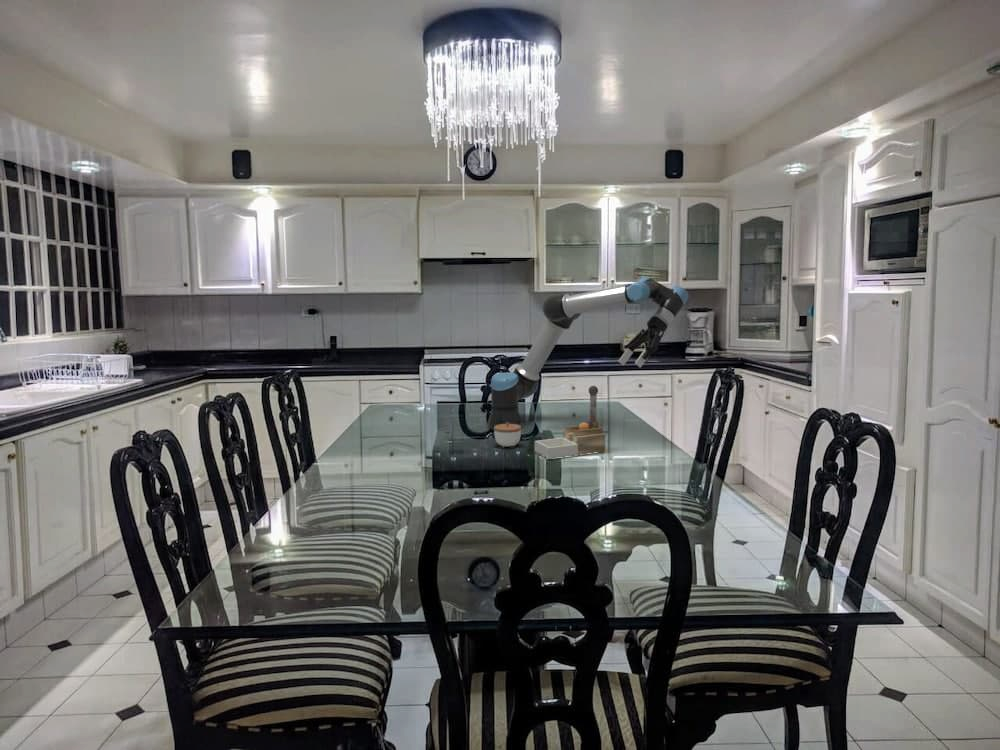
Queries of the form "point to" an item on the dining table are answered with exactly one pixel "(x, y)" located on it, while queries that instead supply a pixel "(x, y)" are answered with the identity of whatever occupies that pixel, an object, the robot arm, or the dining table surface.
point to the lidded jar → (507, 434)
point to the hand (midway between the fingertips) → (629, 364)
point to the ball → (583, 426)
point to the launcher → (586, 439)
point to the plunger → (593, 407)
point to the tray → (556, 447)
